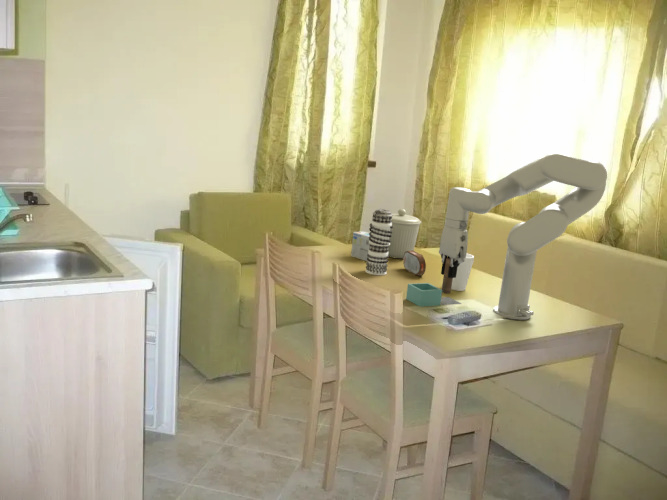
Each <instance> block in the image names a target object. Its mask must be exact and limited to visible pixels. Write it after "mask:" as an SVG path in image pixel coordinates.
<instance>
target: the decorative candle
mask: <svg viewBox="0 0 667 500" xmlns="http://www.w3.org/2000/svg"><path fill="white" fill-rule="evenodd" d="M392 214H393V213H392V211H391V210H388V209H385V208H378V209H375V210H374V212H372V220H371V223H370V224H369V228H368V230H369V232H368V233H369V236H370V237H369V240H370V241H369V243H370V245H369V250H368V254H367V256H368V258H367V260H368V261H366V262H365V264H366V266H365V273H367V274H369V275H374V276H386V275H387V274H388V273H387V271H388V267H389V266H388V263H389V260H388V259H389V258H390V257H389V256H388V248H389V245H390V243H389V242H391V240H390V239H389V237H392V235H391V234H390V233H392V231H390V228H391V229H392V228H393V226H392V216H393V215H392Z"/></svg>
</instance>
